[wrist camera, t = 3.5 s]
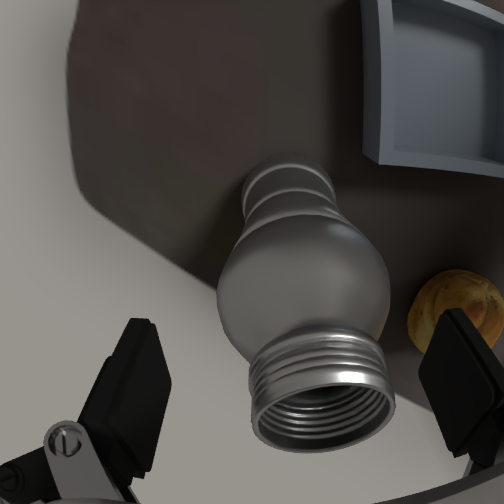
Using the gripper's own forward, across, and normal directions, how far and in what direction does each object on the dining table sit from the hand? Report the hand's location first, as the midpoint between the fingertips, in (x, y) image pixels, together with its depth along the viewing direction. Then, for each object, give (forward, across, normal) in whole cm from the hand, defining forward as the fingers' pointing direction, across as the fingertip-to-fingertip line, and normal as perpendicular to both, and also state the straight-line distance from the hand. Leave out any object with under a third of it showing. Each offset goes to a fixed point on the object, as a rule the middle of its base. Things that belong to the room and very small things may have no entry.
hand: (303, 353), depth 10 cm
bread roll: (+17, -19, +11) cm, 28 cm away
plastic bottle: (+17, -1, 0) cm, 17 cm away
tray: (+17, -14, -10) cm, 24 cm away
